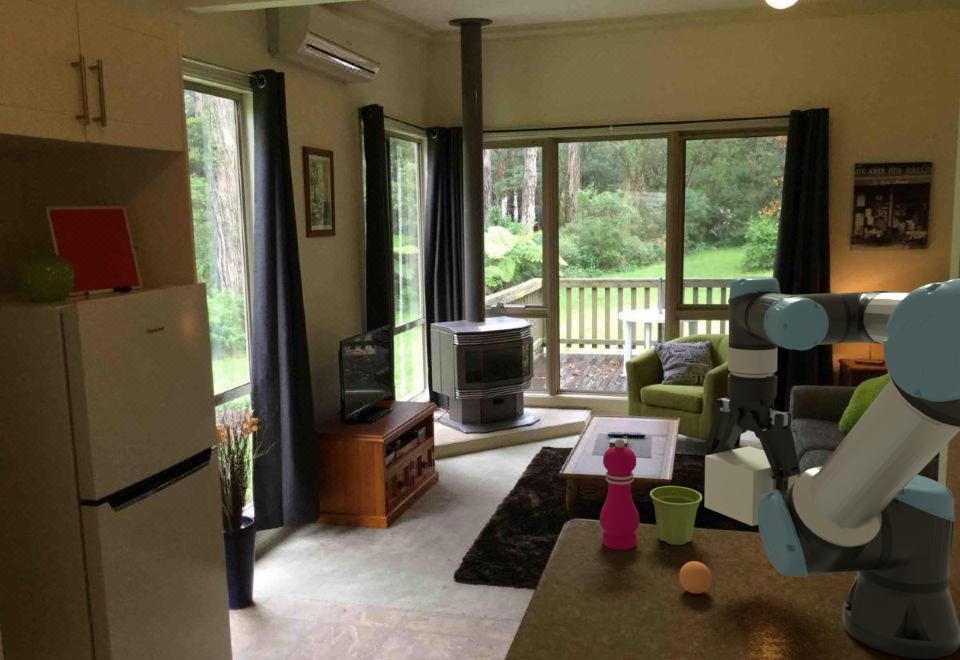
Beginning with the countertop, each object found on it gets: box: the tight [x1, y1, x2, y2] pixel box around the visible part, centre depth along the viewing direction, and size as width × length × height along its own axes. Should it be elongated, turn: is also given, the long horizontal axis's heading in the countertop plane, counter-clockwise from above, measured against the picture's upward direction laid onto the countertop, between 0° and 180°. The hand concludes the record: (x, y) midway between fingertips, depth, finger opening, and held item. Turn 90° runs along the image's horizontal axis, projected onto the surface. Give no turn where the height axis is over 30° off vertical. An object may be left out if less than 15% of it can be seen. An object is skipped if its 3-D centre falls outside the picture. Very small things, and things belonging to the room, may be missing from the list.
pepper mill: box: [599, 438, 640, 551], centre depth 149 cm, size 7×7×20 cm
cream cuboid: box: [704, 445, 799, 527], centre depth 133 cm, size 10×10×9 cm
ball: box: [678, 560, 712, 595], centre depth 131 cm, size 5×5×5 cm
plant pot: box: [649, 485, 703, 546], centre depth 151 cm, size 9×9×9 cm
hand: (749, 505), depth 134 cm, fingers closed on cream cuboid, 10 cm apart
